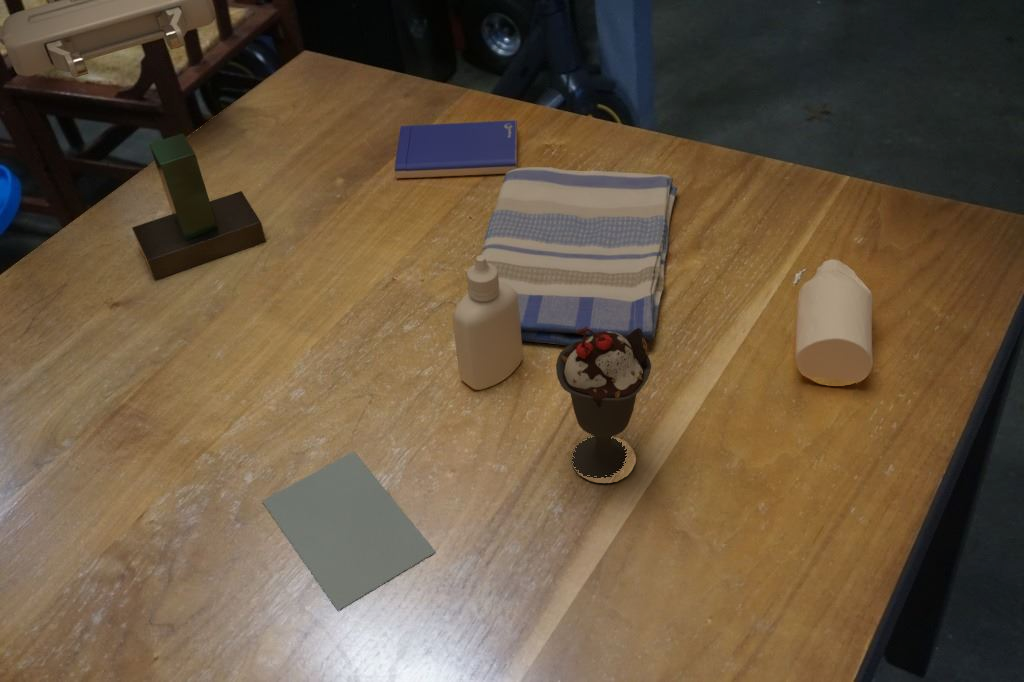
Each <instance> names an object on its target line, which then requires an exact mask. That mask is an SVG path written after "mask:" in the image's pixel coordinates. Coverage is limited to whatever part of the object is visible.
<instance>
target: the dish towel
mask: <svg viewBox="0 0 1024 682" xmlns="http://www.w3.org/2000/svg"><path fill="white" fill-rule="evenodd" d="M673 182H674V177H672V176H669V174H668V173H667V174H662V173H659V174H651V173H650V174H649V173H644V172H643V173H642V172H624V171H604V170H596V169H595V170H594V169H593V170H574V169H573V170H572V169H571V170H570V169H559V168H557V167H556V168H555V167H550V166H548V167H547V166H545V167H542V166H541V167H540V166H526V167H525V166H524V167H517V169H513V170H511V171H509V172H507V173H505V175H504V178H503V180H502V185H501V187H500V189H499V192H498V195H497V199H496V203H495V206H494V208H493V211H492V213H491V216H490V219H489V222H488V225H487V230H486V232H485V235H484V239H483V247H482V251H481V253H480V255H483V256H485V258H486V261H487V263H489V264H492V265H494V266H495V267H496V268H497V270H498V279H499V282H503V283H505V284H507V285H509V286H510V287H512V288H513V289H514V290H515V291H516V293H517V295H518V301H519V312H520V325H521V338H522V342H531V343H539V344H553V345H559V346H569V345H570V344H573V343H575V342H577V341H579V340H582V339H583V337H584V334H579V333H578V332H577V330H580V329H583V328H585V327H586V326H587V329H589V330H591V331H593V332H595V333H596V334H597V333H599V332H603V331H610V332H616V333H618V334H620V335H622V336H623V337H626V336H627V335H629V334H630V333H631V332H632V331H634V330H635V329H637V328H640V329H641V330H642V334H643V337H644V339H645V342H646V345H647V346H648V342H649V340H654V339H655V336H656V328H657V323H658V317H659V309H660V303H661V298H662V293H663V291H664V286H665V264H666V257H667V254H668V249H669V236H670V222H671V217H672V211H673V207H674V203H675V200H676V193H677V191H678V189H679V187H678V186H677V185H675V184H673ZM585 333H586V337H589V336H593V335H594V334H592V333H591V332H589V331H586V332H585Z"/></svg>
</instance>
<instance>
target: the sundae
mask: <svg viewBox="0 0 1024 682" xmlns="http://www.w3.org/2000/svg"><path fill="white" fill-rule="evenodd" d="M586 331H589V332H591V333H592V334H594V335H593V336H589V337H586V333H585V332H586ZM577 332H578V333H579V334H584V337H583V339H582V340H579V341H577V342H575V343H573V344H570V345H566V346H565V347H564V348H563V349H562V350H561V351H560V352H559V355H558V356H557V360H556V364H555V369H556V370H555V371H556V376H557V380H558V382H559V384H560V387H561V388H562V389H563V390H564V391H565V392H567V393H568V394H570V398H571V402H572V407H573V412H574V413H573V414H574V415H575V418H576V421H577V424H578V426H579V427H580V428H581V430H582V431H584V432H585V433H587V434H589V435H590V436H593V435H594V437H592V438H591V437H590V436H589V437H590V438H588V437H586V438H587V440H585V441H582V440H581V441H582V443H580V442H578V444H579V445H578V444H576V445H575V447H574V448H575V451H576V452H575V451H574V453H573V452H572V453H573V456H574V457H575V458H574V457H572V458H573V459H572V461H573V462H574V463H573V462H571V464H572V463H573V466H574V467H576V468H575V469H576V470H579V473H582V474H583V476H587V475H590V476H587V477H593V478H601V477H604V478H606V477H612V476H610V475H614V474H613V473H617V472H616V471H620V470H619V469H621V468H622V466H624V465H623V464H624V463H623V462H624V461H625V458H626V457H627V456H625V455H626V454H627V453H625V452H626V451H627V449H626V450H624V449H625V446H623V447H622V442H621V443H620V442H618V441H617V440H616V439H614V438H612V439H611V437H612V436H617V435H619V434H621V433H622V432H624V431H625V430H626V428H627V427H628V426H629V424H630V421H631V418H632V416H633V412H634V408H635V405H636V404H635V403H636V399H637V394H639V392H640V391H641V390H642V388H643V387H644V386H645V384H646V383H647V382H648V380H649V377H650V374H651V370H652V363H651V360H650V359H651V358H650V356H649V349H648V344H647V345H646V342H645V339H644V337H643V334H642V330H641V329H640V328H637V329H635V330H634V331H632V332H631V333H630V334H629V335H627V336H626V337H623V336H622V335H620V334H618V333H616V332H610V331H603V332H599V333H597V334H596V333H595V332H593V331H591V330H589V329H587V326H586V327H585V328H583V329H580V330H577ZM576 447H577V448H576ZM625 463H626V462H625ZM573 466H572V467H573ZM577 472H578V471H577ZM605 475H607V476H605ZM594 476H597V477H594Z"/></svg>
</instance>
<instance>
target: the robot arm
mask: <svg viewBox="0 0 1024 682" xmlns="http://www.w3.org/2000/svg"><path fill="white" fill-rule="evenodd" d="M47 1H48V2H47V3H46V4H42V5H38V6H34V7H31V8H26V9H24V10H23V9H22V10H21V11H20V10H19V11H16V12H14V13H12V14H10V15H9V16H7V17H6V18H5V19H4V21H3V23H2V25H1V26H0V44H1V45H3V46H4V47H5V50H6V52H7V55H8V57H9V61H10V63H11V65H12V67H13V69H14V71H15V73H16V74H17V75H19V76H24V77H34V76H36V75H39V74H43V73H46V72H51V71H53V70H58V71H62V72H67V73H70V74H71V77H72V79H76V78H79V77H82V76H85V75H88V74H89V70H88V68H87V66H86V63H85V61H89V60H91V59H96V58H97V57H99V58H100V57H102V56H105V55H109V54H112V53H116V52H119V51H122V50H126V49H130V48H133V47H137V46H140V45H143V44H147V43H151V42H154V41H158V40H162V39H165V43H166V45H167V46H168V47H169V50H175V49H178V48H181V47H185V46H186V41H185V39H184V37H185V36H186V34H187V33H188V32H190V31H193V30H196V29H199V28H202V27H207V26H210V25H211V24H212V23H213V22H214V21H215V20H216V17H217V16H216V10H215V6H214V2H213V0H47Z"/></svg>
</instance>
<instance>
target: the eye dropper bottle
mask: <svg viewBox="0 0 1024 682" xmlns="http://www.w3.org/2000/svg"><path fill="white" fill-rule="evenodd" d="M466 281H467V291H468V292H466V293H465V295H464V296H463V297H462V298H461V299H460V301H459V302H458V304H457V305H456V307H455V309H454V310H453V313H452V324H453V325H452V326H453V334H454V341H455V350H456V358H457V365H458V373H459V379H461V381H462V382H464V383H465V384H466V385H467V386H469V387H470V388H471V389H473V390H479V391H481V390H485V389H488V388H490V387H492V386H495V385H497V384H499V383H501V382H503V381H504V380H506V379H507V378H508V377H510V376H511V375H512V374H513V373H514V372H515V371H516V369H518V367H519V366H520V364H521V363H522V361H523V355H524V354H523V341H522V338H521V325H520V312H519V301H518V295H517V293H516V291H515V290H514V289H513V288H512V287H510V286H509V285H507V284H505V283H503V282H499V279H498V270H497V268H496V267H495V266H494V265H492V264H489V263H487V261H486V258H485V256H483V255H481V254H480V255H477V256H476V257H475V263H474V264H473V265H471V266H470V267H468V269H467V271H466Z"/></svg>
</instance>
